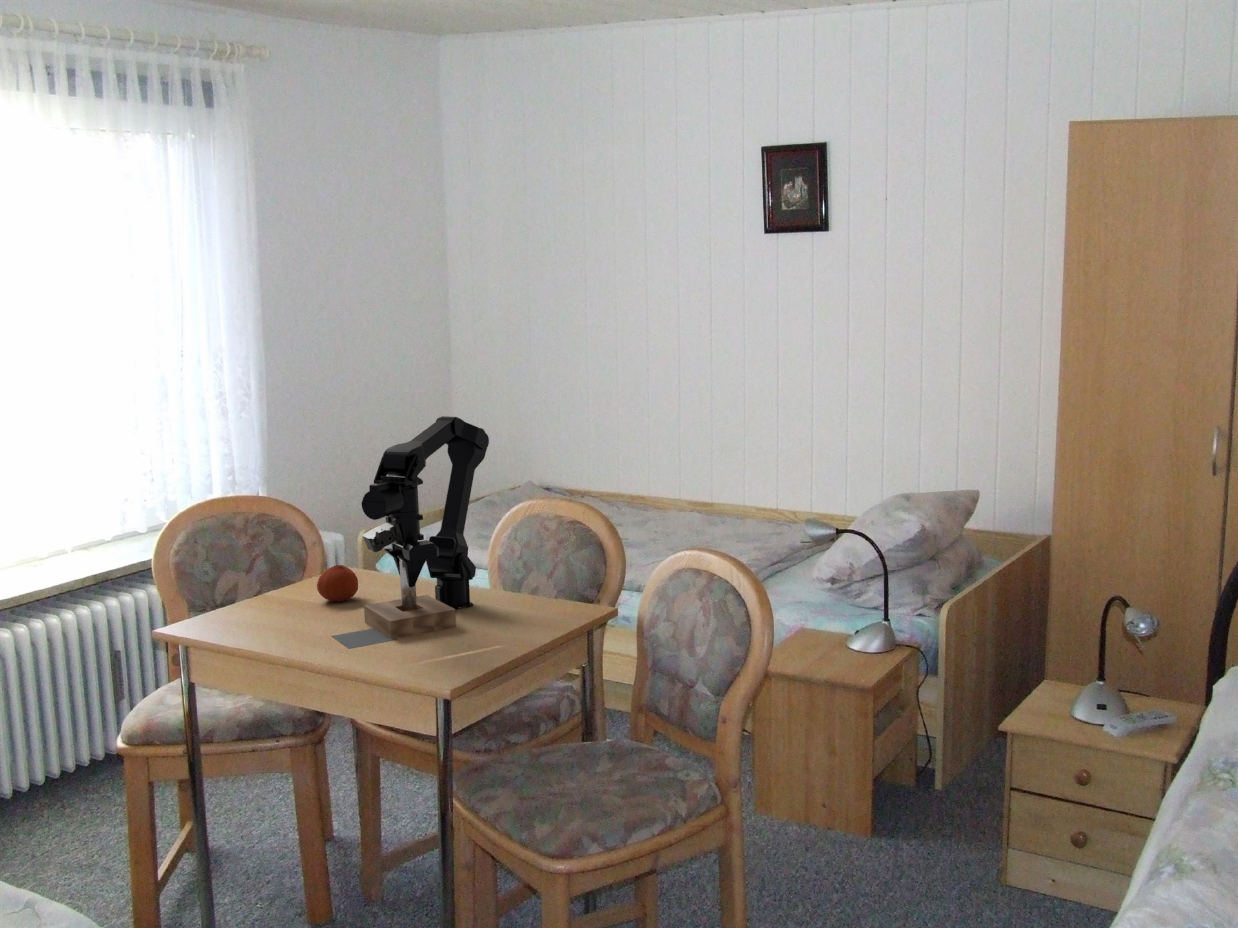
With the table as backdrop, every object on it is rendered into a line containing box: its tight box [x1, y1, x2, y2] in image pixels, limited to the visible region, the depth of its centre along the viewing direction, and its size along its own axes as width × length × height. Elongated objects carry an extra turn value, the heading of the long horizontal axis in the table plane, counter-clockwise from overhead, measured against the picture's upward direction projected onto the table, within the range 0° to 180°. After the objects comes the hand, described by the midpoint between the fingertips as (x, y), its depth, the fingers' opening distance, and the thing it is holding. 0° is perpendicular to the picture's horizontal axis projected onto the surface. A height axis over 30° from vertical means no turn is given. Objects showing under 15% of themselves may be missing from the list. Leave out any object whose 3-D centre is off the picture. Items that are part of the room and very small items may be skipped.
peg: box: [399, 559, 417, 606], centre depth 253 cm, size 3×3×10 cm
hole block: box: [363, 594, 457, 639], centre depth 254 cm, size 14×14×4 cm
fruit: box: [316, 564, 359, 603], centre depth 275 cm, size 9×9×8 cm
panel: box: [331, 627, 399, 650], centre depth 246 cm, size 10×10×1 cm
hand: (408, 585), depth 253 cm, fingers closed on peg, 3 cm apart
